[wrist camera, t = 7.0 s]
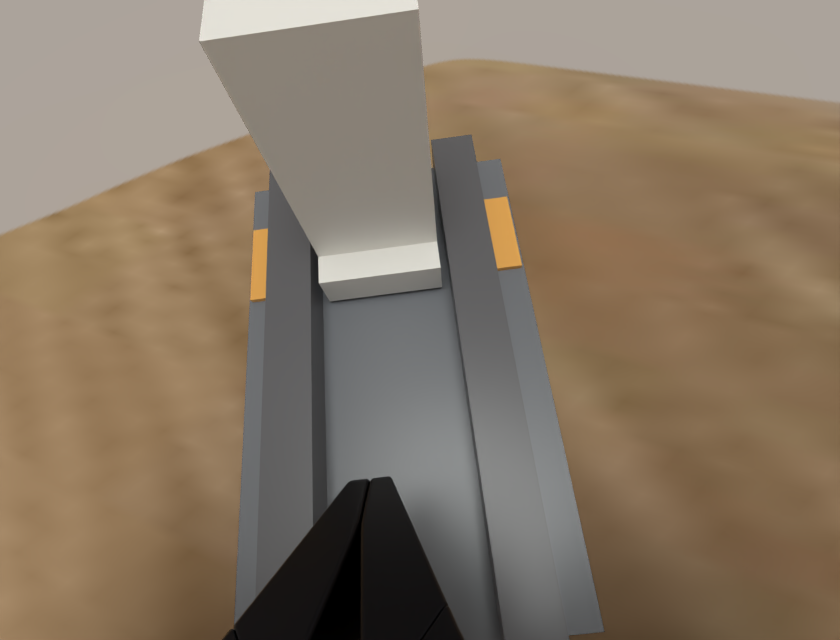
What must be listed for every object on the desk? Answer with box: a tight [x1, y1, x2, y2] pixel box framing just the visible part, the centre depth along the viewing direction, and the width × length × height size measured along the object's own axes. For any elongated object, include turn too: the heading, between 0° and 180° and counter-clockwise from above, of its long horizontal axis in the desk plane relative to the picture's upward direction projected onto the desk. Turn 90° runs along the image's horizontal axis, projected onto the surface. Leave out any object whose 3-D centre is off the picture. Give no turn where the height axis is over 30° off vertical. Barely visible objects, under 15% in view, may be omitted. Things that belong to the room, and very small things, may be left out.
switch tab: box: [199, 0, 442, 301], centre depth 13 cm, size 5×4×9 cm
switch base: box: [234, 135, 604, 640], centre depth 15 cm, size 16×10×4 cm, turn 6°
